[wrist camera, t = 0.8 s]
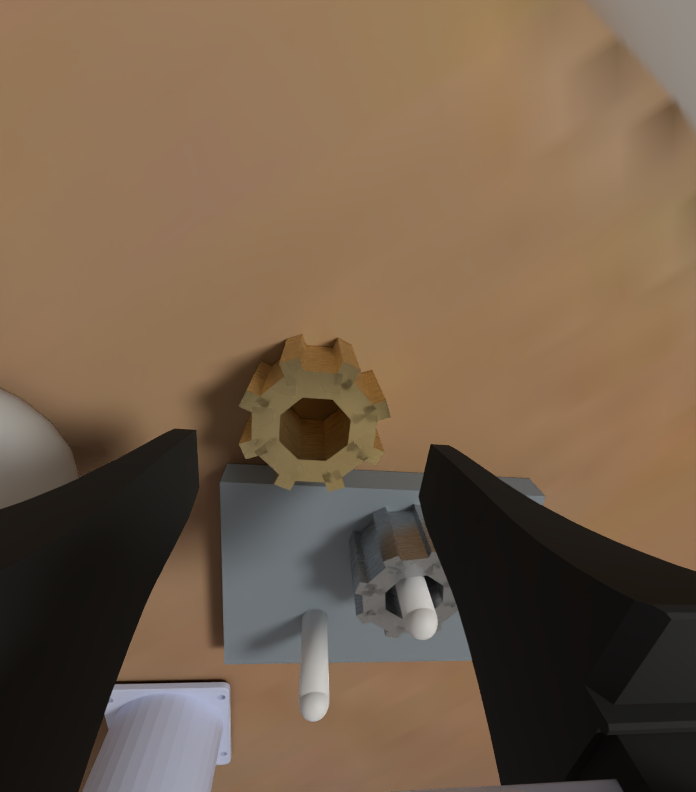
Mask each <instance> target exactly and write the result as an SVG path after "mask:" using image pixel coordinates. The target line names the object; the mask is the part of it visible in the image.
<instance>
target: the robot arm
mask: <svg viewBox="0 0 696 792" xmlns="http://www.w3.org/2000/svg"><path fill="white" fill-rule="evenodd" d="M198 489H199V473H198V455H197V436H196V430H188V429H173V430H171V431H168V432H166V433H164V434H162V435H161V436H159V437H157V438H155V439H153V440H151V441H150V442H148V443H146V444H144V445H142V446H140V447H139V448H137V449H135V450H133V451H131V452H129V453H128V454H126V455H124V456H122V457H120V458H118V459H117V460H115V461H113V462H110V463H108V464H106V465H104V466H102V467H100V468H98V469H96V470H94V471H92V472H90V473H88V474H86V475H84V476H82V477H80V478H78V479H76V480H74V481H71V482H69V483H67V484H65V485H62V486H60V487H58V488H55V489H53V490H50V491H48V492H45V493H43V494H40V495H38V496H36V497H33V498H30V499H28V500H25V501H23V502H20V503H17V504H14V505H11V506H8V507H5V508H2V509H0V792H78V791H79V788H80V785H81V782H82V779H83V775H84V772H85V769H86V766H87V763H88V760H89V757H90V754H91V751H92V748H93V745H94V742H95V739H96V736H97V734H98V731H99V728H100V725H101V722H102V719H103V716H104V714H105V719H106V723H107V727H108V733H107V735H106V737H105V739H104V742H103V744H102V746H101V749H100V751H99V753H98V756H97V758H96V760H95V763H94V765H93V767H92V770H91V772H90V774H89V777H88V779H87V781H86V784H85V786H84V788H83V791H82V792H211V788H212V783H213V777H214V772H215V767H216V765H224V764H228V763H229V762H230V760H231V708H230V685H229V684H228V683H226V682H192V683H145V684H115V682H116V680H117V677H118V674H119V672H120V669H121V666H122V664H123V661H124V658H125V656H126V653H127V650H128V647H129V645H130V642H131V640H132V637H133V635H134V632H135V629H136V627H137V624H138V622H139V619H140V617H141V614H142V612H143V609H144V607H145V604H146V602H147V600H148V598H149V595H150V593H151V591H152V589H153V587H154V585H155V583H156V581H157V579H158V577H159V575H160V573H161V571H162V569H163V567H164V565H165V563H166V561H167V559H168V558H169V556H170V554H171V552H172V550H173V548H174V546H175V544H176V542H177V540H178V538H179V536H180V534H181V532H182V530H183V528H184V526H185V524H186V522H187V520H188V518H189V515H190V513H191V510H192V507H193V504H194V501H195V498H196V495H197V492H198ZM418 497H419V501H420V506H421V510H422V514H423V518H424V522H425V525H426V528H427V531H428V533H429V536H430V538H431V541H432V543H433V546H434V549H435V551H436V553H437V556H438V558H439V561H440V563H441V566H442V568H443V571H444V573H445V576H446V578H447V581H448V583H449V586H450V588H451V591H452V594H453V597H454V599H455V602H456V605H457V608H458V612H459V615H460V618H461V622H462V625H463V629H464V632H465V636H466V639H467V643H468V646H469V650H470V654H471V658H472V662H473V665H474V669H475V673H476V677H477V681H478V685H479V689H480V693H481V697H482V701H483V706H484V710H485V714H486V718H487V722H488V727H489V731H490V735H491V740H492V745H493V749H494V754H495V759H496V764H497V768H498V773H499V778H500V782H501V786H480V787H462V788H445V789H428V790H410V791H393V792H696V571H693V570H690V569H687V568H684V567H681V566H678V565H675V564H672V563H669V562H666V561H664V560H661V559H659V558H656V557H653V556H651V555H648V554H645V553H643V552H640V551H638V550H635V549H633V548H630V547H628V546H625V545H623V544H620V543H618V542H616V541H613V540H611V539H609V538H607V537H604V536H602V535H600V534H598V533H596V532H593V531H591V530H589V529H587V528H585V527H583V526H580V525H578V524H576V523H574V522H572V521H570V520H568V519H566V518H565V517H563V516H561V515H559V514H557V513H555V512H553V511H551V510H550V509H548V508H546V507H544V506H542V505H541V504H539V503H537V502H535V501H534V500H532V499H530V498H529V497H527V496H525V495H524V494H522V493H521V492H519V491H517V490H516V489H514V488H513V487H511V486H510V485H508V484H506V483H505V482H503V481H502V480H500V479H499V478H497V477H496V476H495V475H493V474H492V473H490V472H489V471H487V470H486V469H484V468H483V467H481V466H480V465H479V464H477V463H476V462H474V461H473V460H471V459H470V458H469V457H467V456H466V455H464V454H463V453H461V452H460V451H458V450H456V449H455V448H453V447H451V446H449V445H434V444H431V445H430V449H429V454H428V458H427V462H426V466H425V471H424V475H423V479H422V483H421V488H420V492H419V496H418Z"/></svg>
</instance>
